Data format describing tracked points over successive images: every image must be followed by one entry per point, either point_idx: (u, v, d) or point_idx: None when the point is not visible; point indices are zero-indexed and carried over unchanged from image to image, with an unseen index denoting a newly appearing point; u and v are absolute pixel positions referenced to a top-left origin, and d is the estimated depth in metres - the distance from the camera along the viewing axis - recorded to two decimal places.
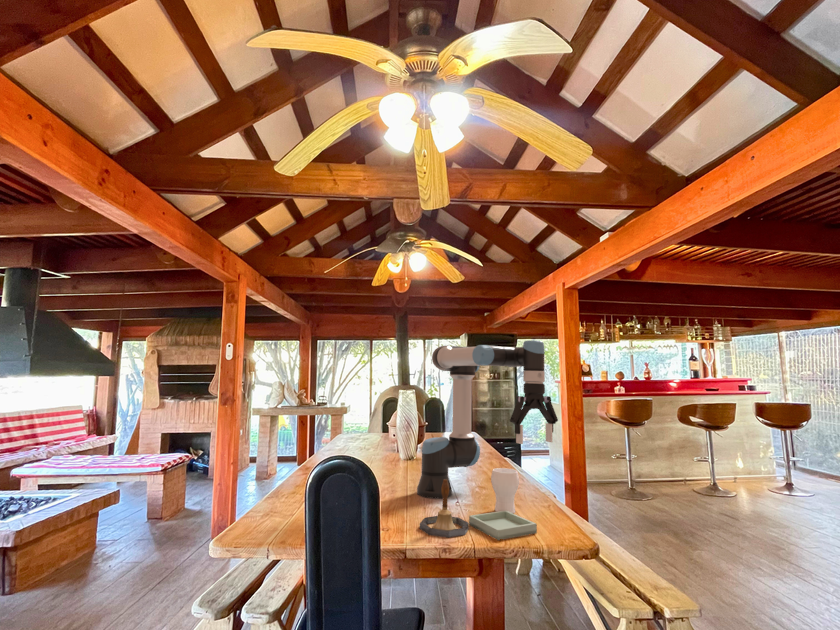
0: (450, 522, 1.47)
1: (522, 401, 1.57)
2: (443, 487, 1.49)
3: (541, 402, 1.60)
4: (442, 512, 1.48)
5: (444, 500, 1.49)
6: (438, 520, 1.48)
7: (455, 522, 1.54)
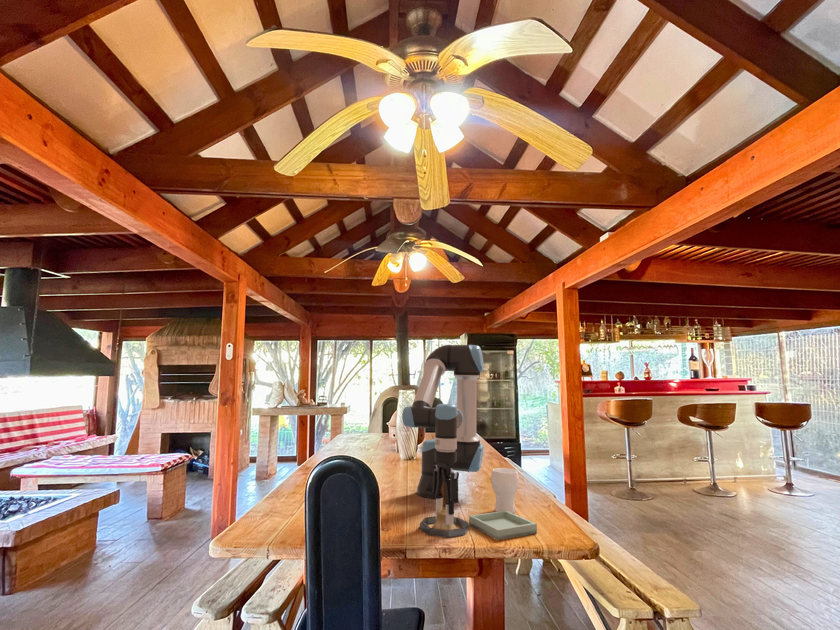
0: None
1: (433, 470, 1.56)
2: (443, 487, 1.49)
3: (443, 472, 1.49)
4: (442, 512, 1.48)
5: (444, 500, 1.49)
6: (438, 520, 1.48)
7: (455, 522, 1.54)
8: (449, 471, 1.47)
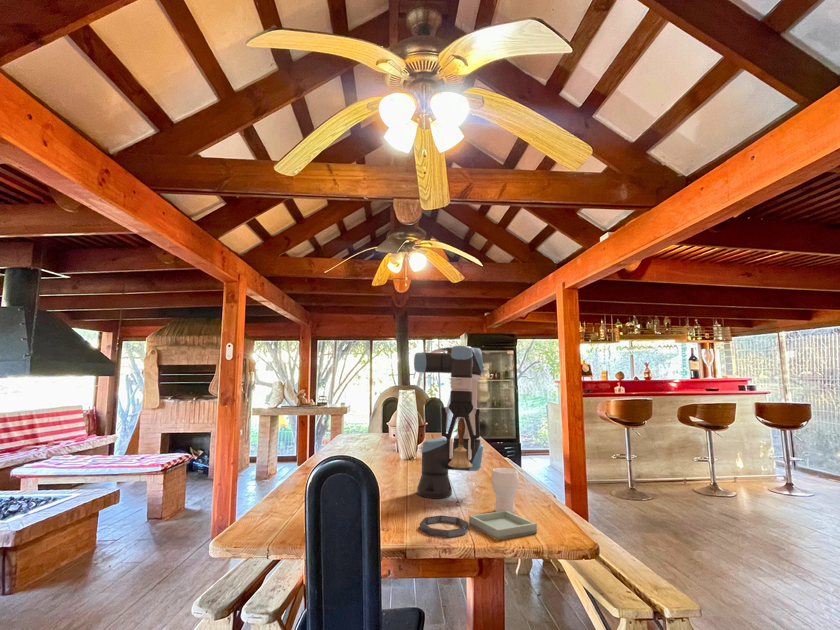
0: (467, 457, 1.52)
1: (444, 412, 1.54)
2: (462, 425, 1.52)
3: (465, 411, 1.52)
4: (462, 450, 1.51)
5: (462, 438, 1.52)
6: (460, 457, 1.50)
7: (455, 522, 1.54)
8: (472, 408, 1.53)
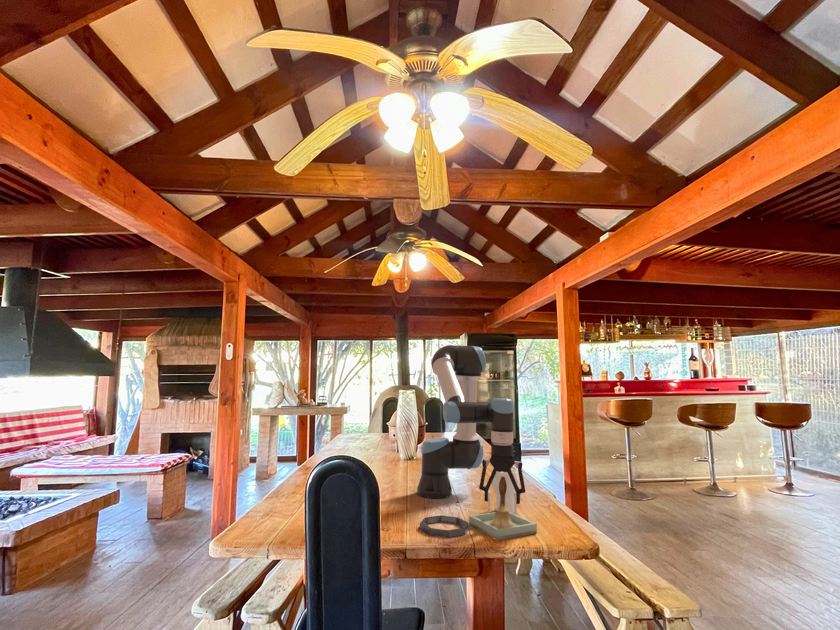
0: None
1: (484, 465, 1.53)
2: (504, 484, 1.51)
3: (507, 465, 1.51)
4: (504, 510, 1.49)
5: (504, 497, 1.51)
6: (502, 518, 1.48)
7: (455, 522, 1.54)
8: (513, 463, 1.51)
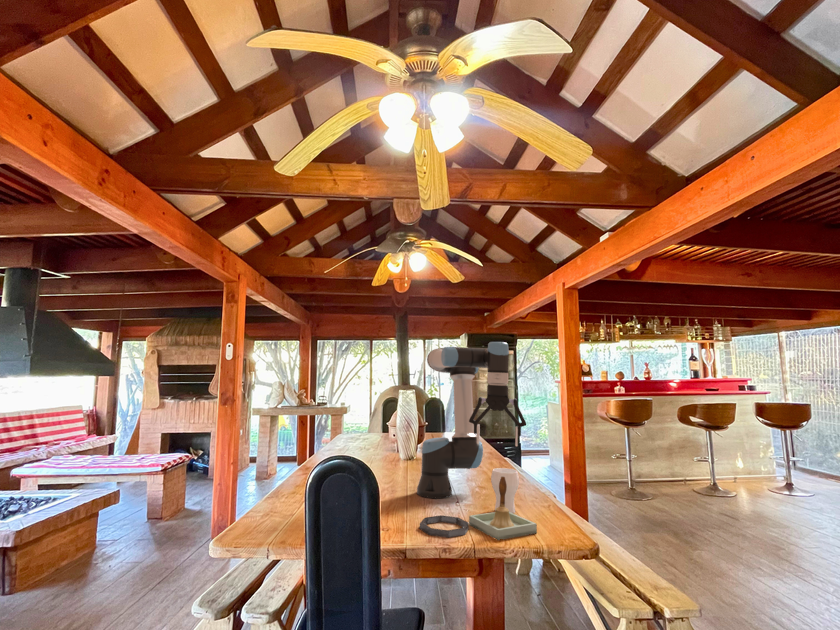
0: None
1: (479, 402, 1.61)
2: (504, 484, 1.51)
3: (502, 404, 1.58)
4: (504, 510, 1.49)
5: (504, 497, 1.51)
6: (502, 518, 1.48)
7: (455, 522, 1.54)
8: (508, 402, 1.59)
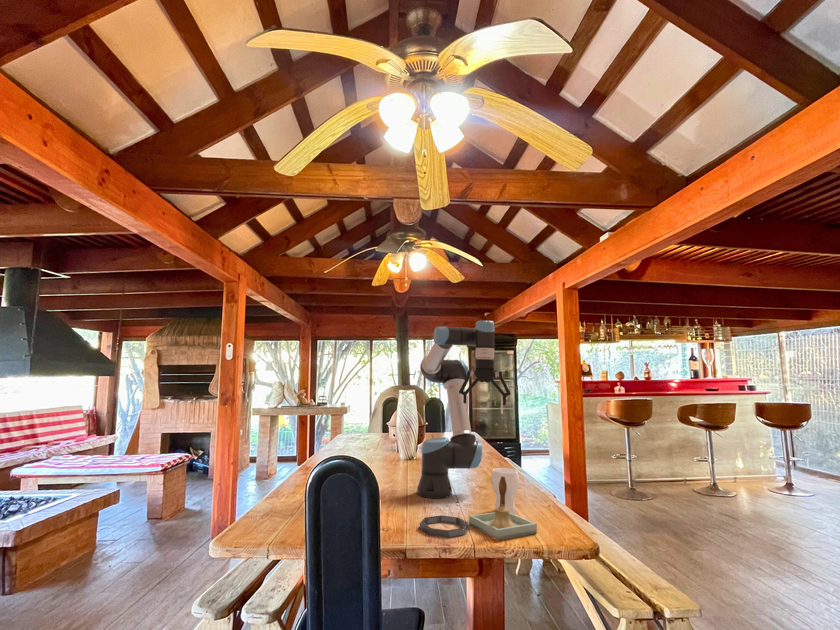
0: None
1: (468, 375, 1.78)
2: (504, 484, 1.51)
3: (488, 376, 1.76)
4: (504, 510, 1.49)
5: (504, 497, 1.51)
6: (502, 518, 1.48)
7: (455, 522, 1.54)
8: (494, 374, 1.76)
